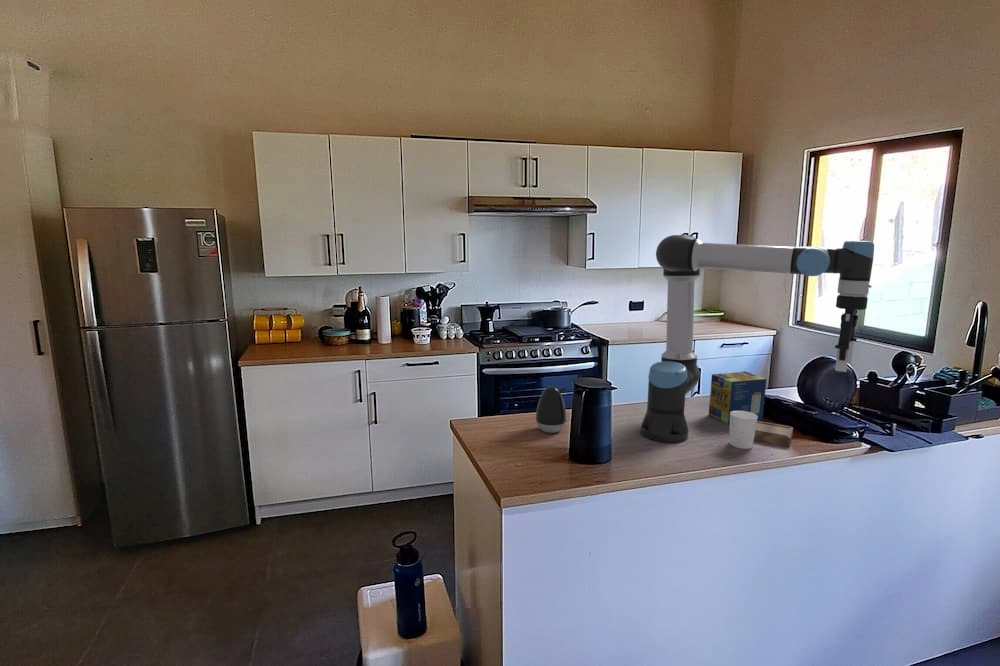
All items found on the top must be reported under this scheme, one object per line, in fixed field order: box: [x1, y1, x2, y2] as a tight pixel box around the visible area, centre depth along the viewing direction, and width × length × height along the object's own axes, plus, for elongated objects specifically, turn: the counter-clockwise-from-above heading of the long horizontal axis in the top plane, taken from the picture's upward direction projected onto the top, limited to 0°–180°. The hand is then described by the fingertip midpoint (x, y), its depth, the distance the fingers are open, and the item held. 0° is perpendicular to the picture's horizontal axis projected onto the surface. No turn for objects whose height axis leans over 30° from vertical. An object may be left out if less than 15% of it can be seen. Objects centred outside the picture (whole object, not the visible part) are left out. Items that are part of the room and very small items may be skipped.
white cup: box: [728, 411, 758, 450], centre depth 171 cm, size 8×8×10 cm
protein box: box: [708, 371, 767, 425], centre depth 196 cm, size 10×15×16 cm
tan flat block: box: [754, 420, 794, 448], centre depth 178 cm, size 14×11×3 cm
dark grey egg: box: [535, 385, 567, 434], centre depth 182 cm, size 10×10×15 cm
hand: (843, 366), depth 161 cm, fingers open, 13 cm apart
